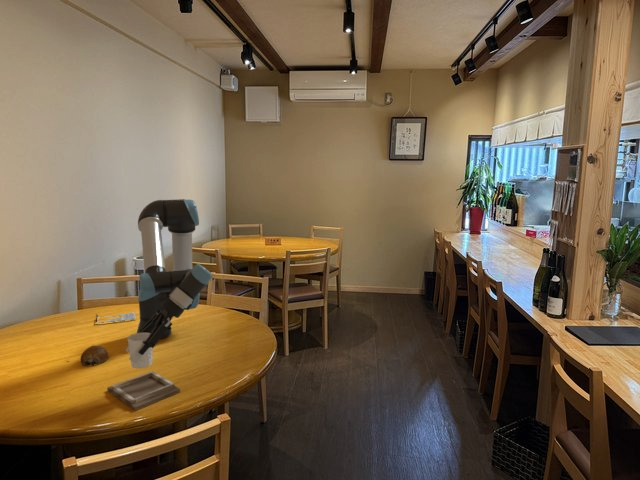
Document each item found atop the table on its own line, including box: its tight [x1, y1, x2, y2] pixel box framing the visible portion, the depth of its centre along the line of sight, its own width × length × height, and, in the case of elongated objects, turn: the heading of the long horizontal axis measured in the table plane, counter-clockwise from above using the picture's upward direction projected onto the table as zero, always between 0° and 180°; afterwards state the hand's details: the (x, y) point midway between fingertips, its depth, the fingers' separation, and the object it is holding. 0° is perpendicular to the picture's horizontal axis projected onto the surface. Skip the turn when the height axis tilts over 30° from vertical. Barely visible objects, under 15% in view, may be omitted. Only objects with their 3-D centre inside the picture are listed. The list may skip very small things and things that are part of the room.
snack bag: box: [96, 311, 136, 323], centre depth 231 cm, size 19×20×2 cm
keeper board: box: [106, 370, 181, 411], centre depth 153 cm, size 20×16×2 cm
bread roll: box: [80, 345, 109, 366], centre depth 178 cm, size 10×10×8 cm
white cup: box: [127, 332, 154, 369], centre depth 151 cm, size 8×8×10 cm
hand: (130, 356), depth 149 cm, fingers closed on white cup, 8 cm apart
